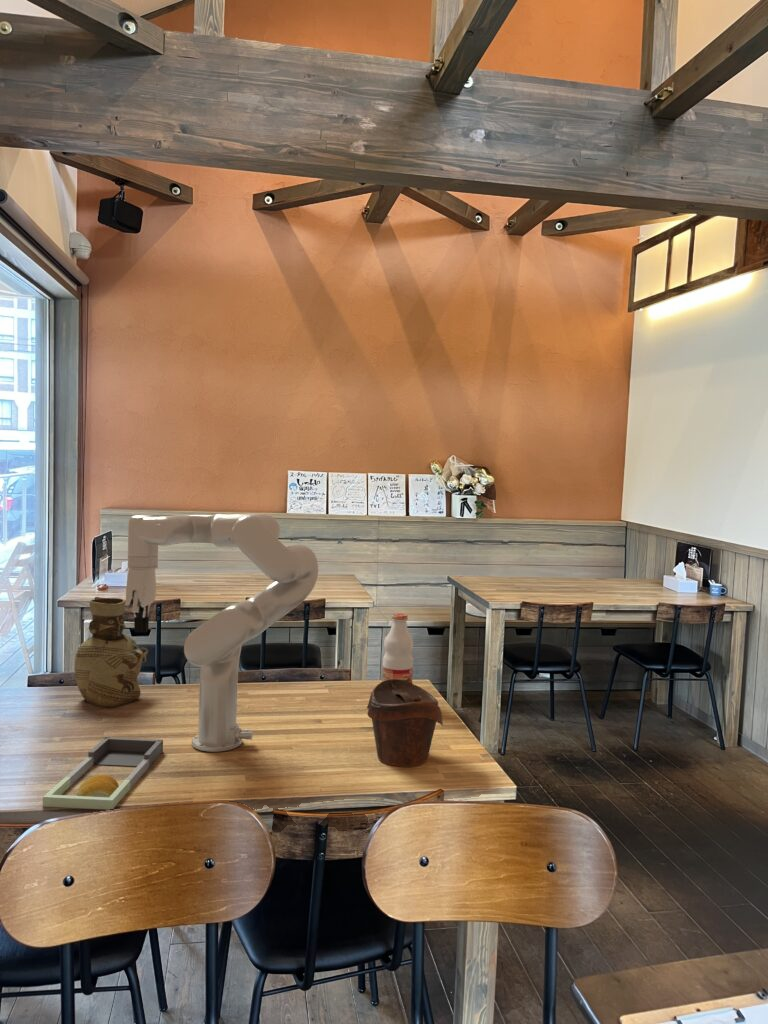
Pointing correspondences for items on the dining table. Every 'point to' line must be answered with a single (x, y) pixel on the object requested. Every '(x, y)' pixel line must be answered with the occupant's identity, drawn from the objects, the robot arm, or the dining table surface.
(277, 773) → the dining table surface
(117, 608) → the ceramic vessel
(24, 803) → the dining table surface
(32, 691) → the dining table surface
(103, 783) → the bread roll
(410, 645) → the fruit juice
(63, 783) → the channel
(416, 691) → the brown trash bin
